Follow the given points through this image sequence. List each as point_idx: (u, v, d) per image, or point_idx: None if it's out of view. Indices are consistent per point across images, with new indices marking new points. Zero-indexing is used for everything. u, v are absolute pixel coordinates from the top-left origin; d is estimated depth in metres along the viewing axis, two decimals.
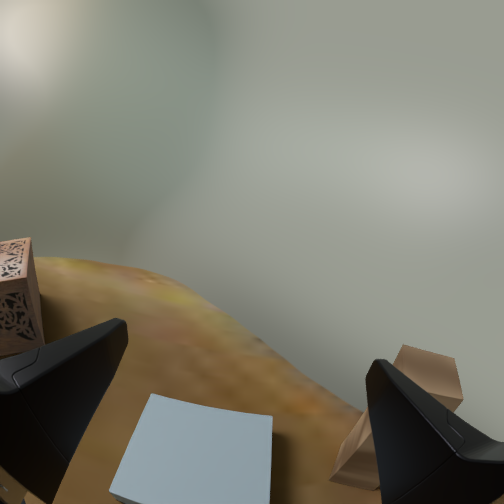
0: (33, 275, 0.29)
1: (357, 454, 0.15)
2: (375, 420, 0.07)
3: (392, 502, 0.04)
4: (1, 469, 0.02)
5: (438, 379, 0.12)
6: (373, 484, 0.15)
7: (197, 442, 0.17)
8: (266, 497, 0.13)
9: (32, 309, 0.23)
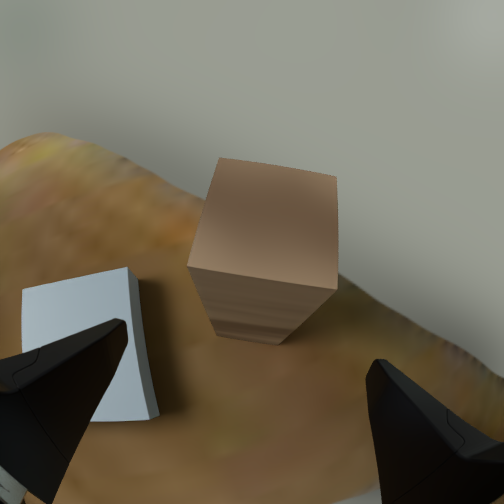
0: None
1: (215, 321, 0.15)
2: (375, 420, 0.07)
3: (392, 502, 0.04)
4: (1, 469, 0.02)
5: (280, 236, 0.09)
6: (271, 342, 0.19)
7: (65, 330, 0.16)
8: (138, 382, 0.15)
9: None
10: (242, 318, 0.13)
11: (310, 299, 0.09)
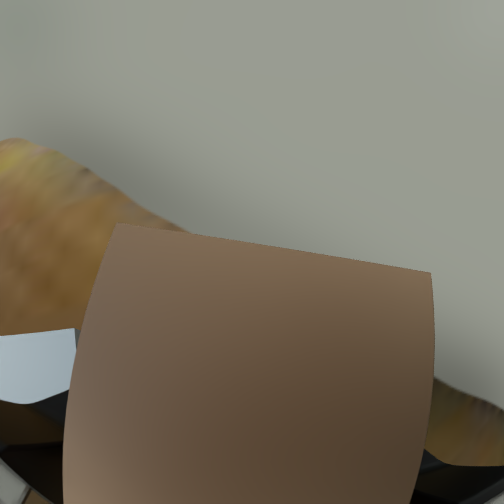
0: None
1: None
2: None
3: None
4: None
5: (277, 497, 0.02)
6: None
7: (15, 397, 0.10)
8: None
9: None
10: None
11: None
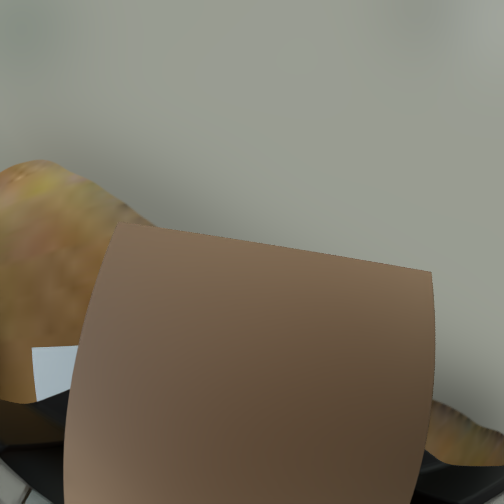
0: None
1: None
2: None
3: None
4: None
5: (279, 495, 0.02)
6: None
7: None
8: None
9: None
10: None
11: None
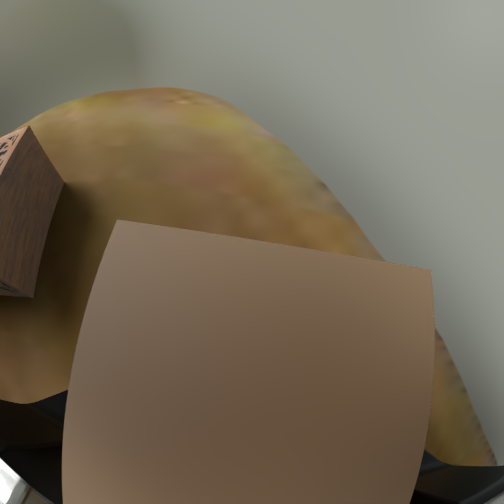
0: (26, 188, 0.19)
1: None
2: None
3: None
4: None
5: (277, 495, 0.02)
6: None
7: None
8: None
9: None
10: None
11: None
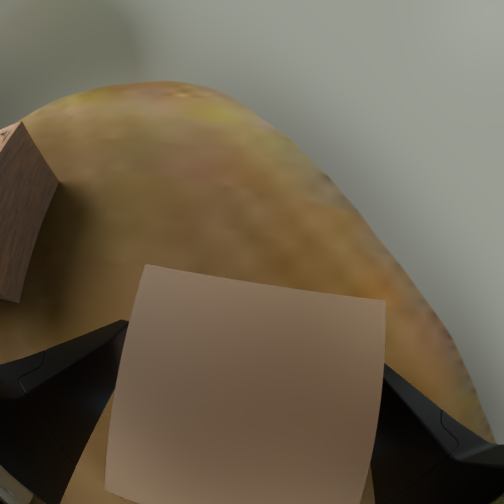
0: (16, 188, 0.18)
1: None
2: None
3: None
4: (7, 474, 0.02)
5: (265, 461, 0.03)
6: None
7: None
8: None
9: None
10: None
11: None
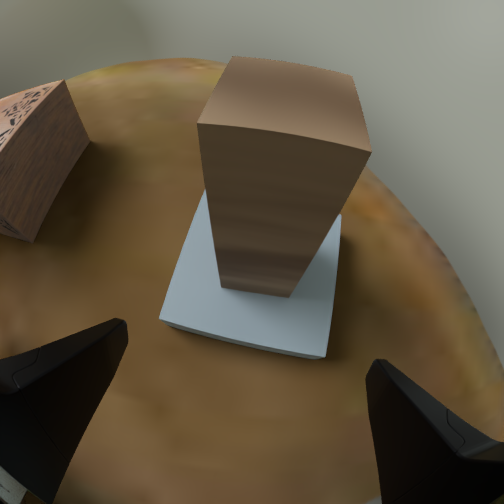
0: (49, 137, 0.20)
1: (221, 253, 0.13)
2: (375, 420, 0.07)
3: (392, 502, 0.04)
4: (1, 469, 0.02)
5: (302, 105, 0.07)
6: (282, 291, 0.17)
7: None
8: (328, 318, 0.17)
9: (0, 214, 0.16)
10: (253, 238, 0.11)
11: (339, 177, 0.07)
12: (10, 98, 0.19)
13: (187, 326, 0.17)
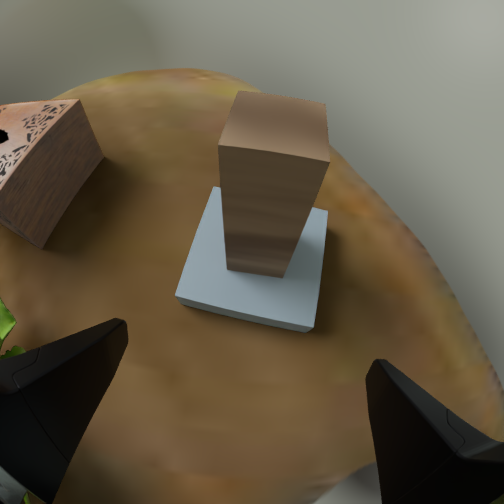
0: (63, 155, 0.23)
1: (228, 237, 0.17)
2: (375, 420, 0.07)
3: (392, 502, 0.04)
4: (1, 469, 0.02)
5: (286, 131, 0.11)
6: (277, 272, 0.21)
7: None
8: (315, 295, 0.21)
9: (13, 223, 0.19)
10: (253, 224, 0.15)
11: (310, 179, 0.11)
12: (31, 105, 0.22)
13: (198, 301, 0.21)
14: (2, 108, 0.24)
